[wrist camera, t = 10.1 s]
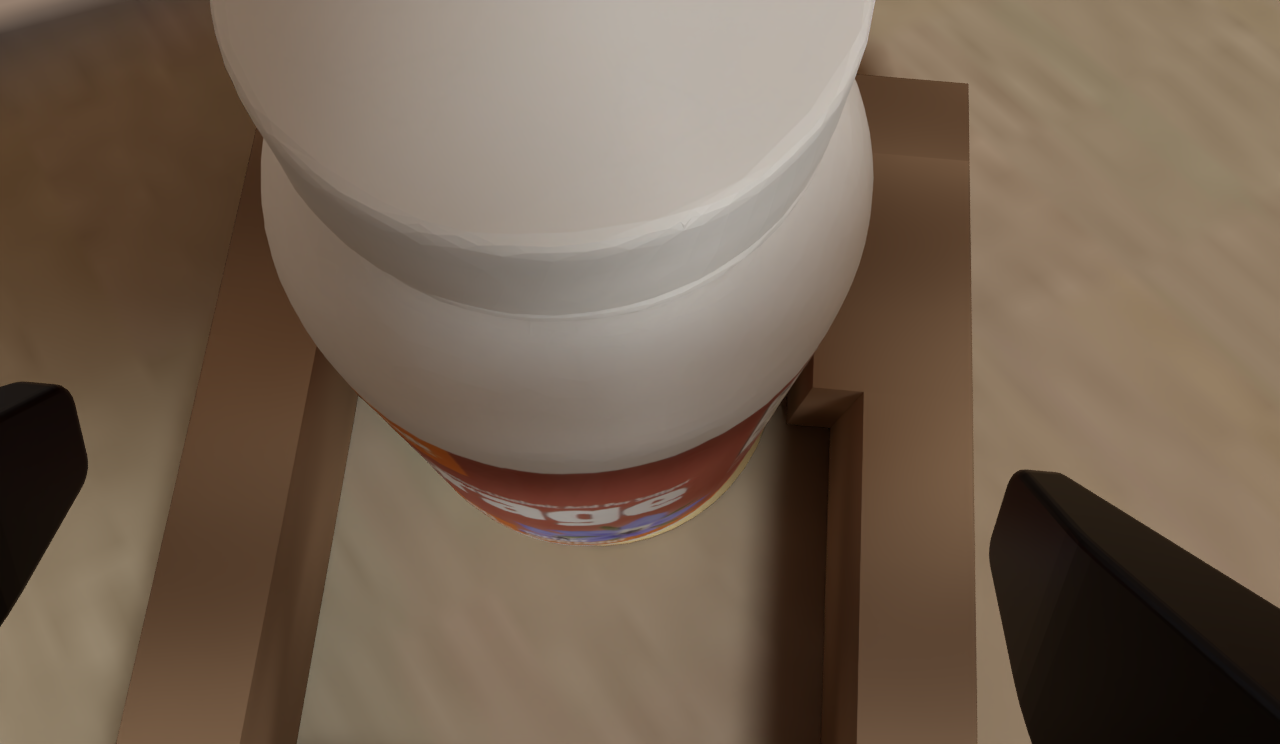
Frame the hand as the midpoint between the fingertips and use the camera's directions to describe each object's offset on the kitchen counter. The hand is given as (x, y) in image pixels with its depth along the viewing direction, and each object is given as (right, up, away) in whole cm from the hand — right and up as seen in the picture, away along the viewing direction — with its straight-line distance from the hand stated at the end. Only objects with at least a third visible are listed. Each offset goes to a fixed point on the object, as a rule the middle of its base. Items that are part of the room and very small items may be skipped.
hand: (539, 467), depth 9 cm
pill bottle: (0, +1, +8) cm, 8 cm away
